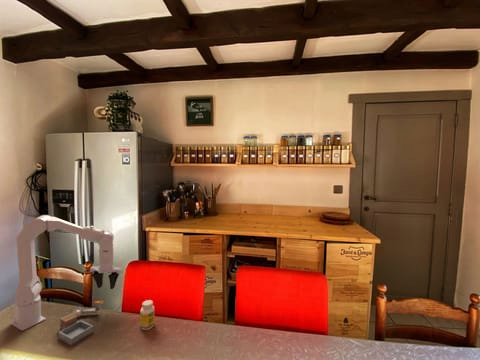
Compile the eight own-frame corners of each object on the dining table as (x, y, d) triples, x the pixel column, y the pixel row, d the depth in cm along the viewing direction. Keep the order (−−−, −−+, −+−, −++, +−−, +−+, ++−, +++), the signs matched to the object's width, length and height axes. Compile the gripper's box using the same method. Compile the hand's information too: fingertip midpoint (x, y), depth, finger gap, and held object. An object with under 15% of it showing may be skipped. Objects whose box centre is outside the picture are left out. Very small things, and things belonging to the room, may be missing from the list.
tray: (58, 338, 87) (58, 332, 87) (80, 325, 95) (80, 319, 94) (71, 345, 84) (71, 338, 84) (93, 332, 91) (93, 325, 91)
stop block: (60, 329, 92) (60, 318, 92) (71, 323, 96) (71, 313, 96) (65, 333, 90) (65, 321, 90) (76, 327, 94) (76, 316, 94)
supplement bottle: (149, 331, 92) (149, 307, 92) (137, 329, 93) (137, 305, 93) (156, 322, 97) (157, 299, 97) (145, 320, 98) (145, 298, 98)
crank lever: (70, 318, 99) (70, 305, 99) (75, 312, 103) (75, 300, 103) (101, 316, 101) (101, 303, 101) (104, 310, 105) (104, 298, 105)
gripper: (84, 260, 103) (85, 290, 104) (115, 262, 102) (115, 293, 102) (96, 255, 110) (96, 283, 111) (125, 257, 109) (125, 285, 109)
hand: (106, 287), depth 107 cm, fingers open, 6 cm apart
